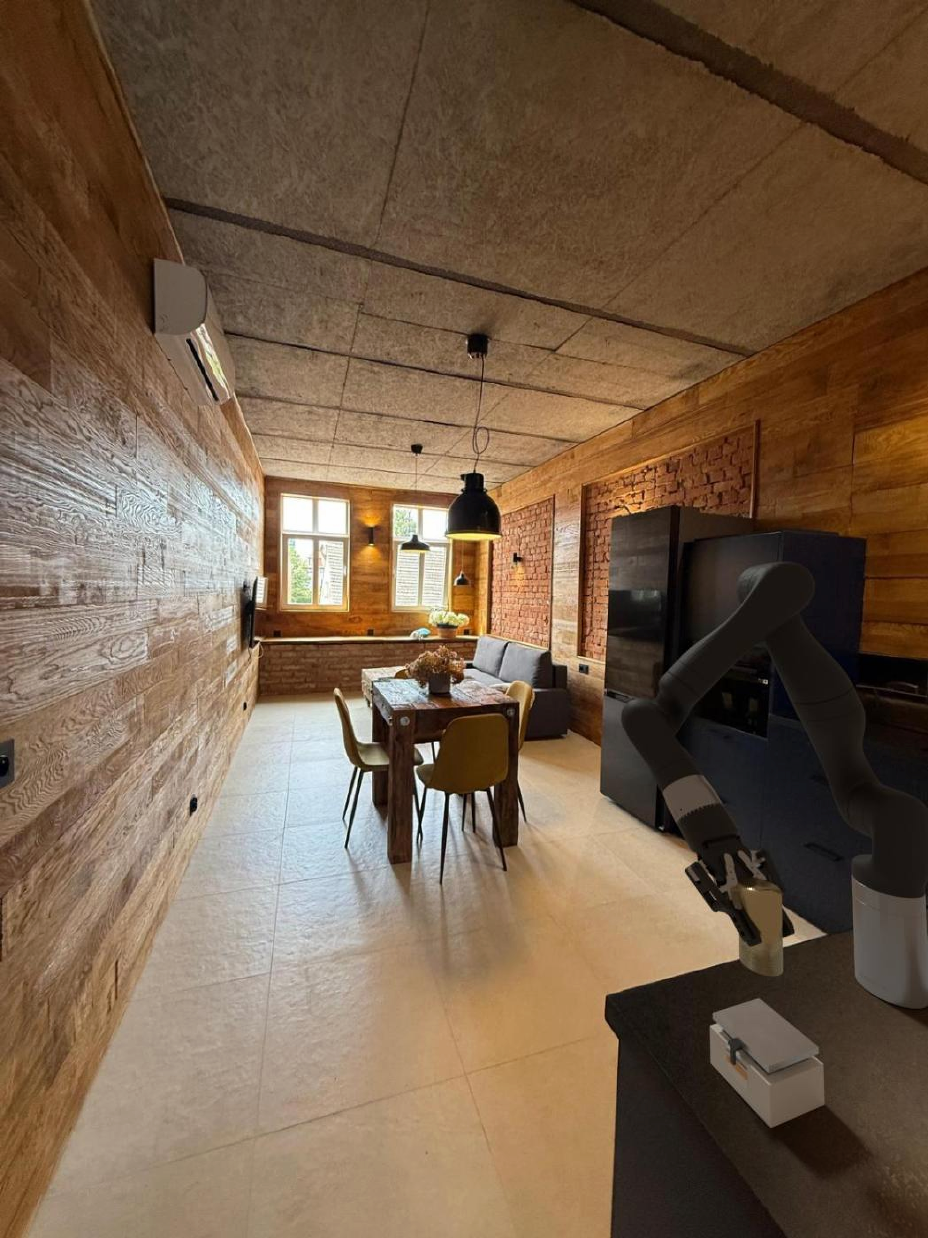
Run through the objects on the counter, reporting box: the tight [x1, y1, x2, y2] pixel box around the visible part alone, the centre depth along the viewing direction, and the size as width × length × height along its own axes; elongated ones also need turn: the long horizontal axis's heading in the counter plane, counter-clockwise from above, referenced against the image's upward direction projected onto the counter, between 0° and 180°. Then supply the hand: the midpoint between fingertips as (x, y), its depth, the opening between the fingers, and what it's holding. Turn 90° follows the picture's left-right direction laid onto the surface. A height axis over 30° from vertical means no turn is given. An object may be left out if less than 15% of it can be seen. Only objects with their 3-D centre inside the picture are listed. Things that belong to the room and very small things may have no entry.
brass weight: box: [738, 877, 784, 978], centre depth 63 cm, size 5×5×10 cm
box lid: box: [712, 997, 820, 1073], centre depth 62 cm, size 10×8×4 cm
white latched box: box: [709, 1022, 825, 1129], centre depth 62 cm, size 9×9×5 cm
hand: (772, 939), depth 61 cm, fingers closed on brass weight, 5 cm apart
